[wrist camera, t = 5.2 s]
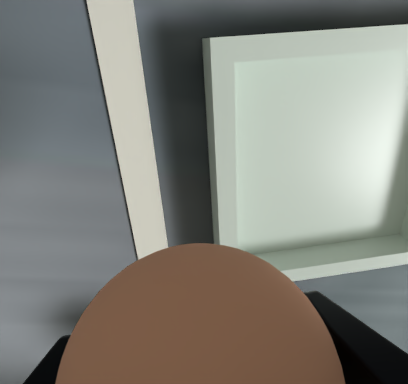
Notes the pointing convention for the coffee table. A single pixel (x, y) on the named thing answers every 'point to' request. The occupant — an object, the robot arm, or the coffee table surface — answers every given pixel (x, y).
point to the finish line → (129, 118)
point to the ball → (200, 325)
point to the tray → (310, 147)
